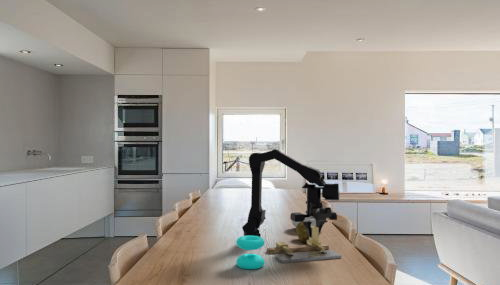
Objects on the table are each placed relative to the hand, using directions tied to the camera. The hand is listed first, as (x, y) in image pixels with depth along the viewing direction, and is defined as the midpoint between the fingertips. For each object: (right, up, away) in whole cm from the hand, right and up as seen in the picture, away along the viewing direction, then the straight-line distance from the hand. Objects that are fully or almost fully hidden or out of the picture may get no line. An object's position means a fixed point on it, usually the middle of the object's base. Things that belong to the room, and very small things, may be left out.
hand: (313, 237), depth 157 cm
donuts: (-26, -5, -21) cm, 34 cm away
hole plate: (-4, -5, -11) cm, 13 cm away
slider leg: (+1, -4, -3) cm, 5 cm away
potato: (-1, -5, +14) cm, 15 cm away
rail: (-6, -5, -5) cm, 9 cm away
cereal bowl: (+3, -6, +36) cm, 36 cm away
